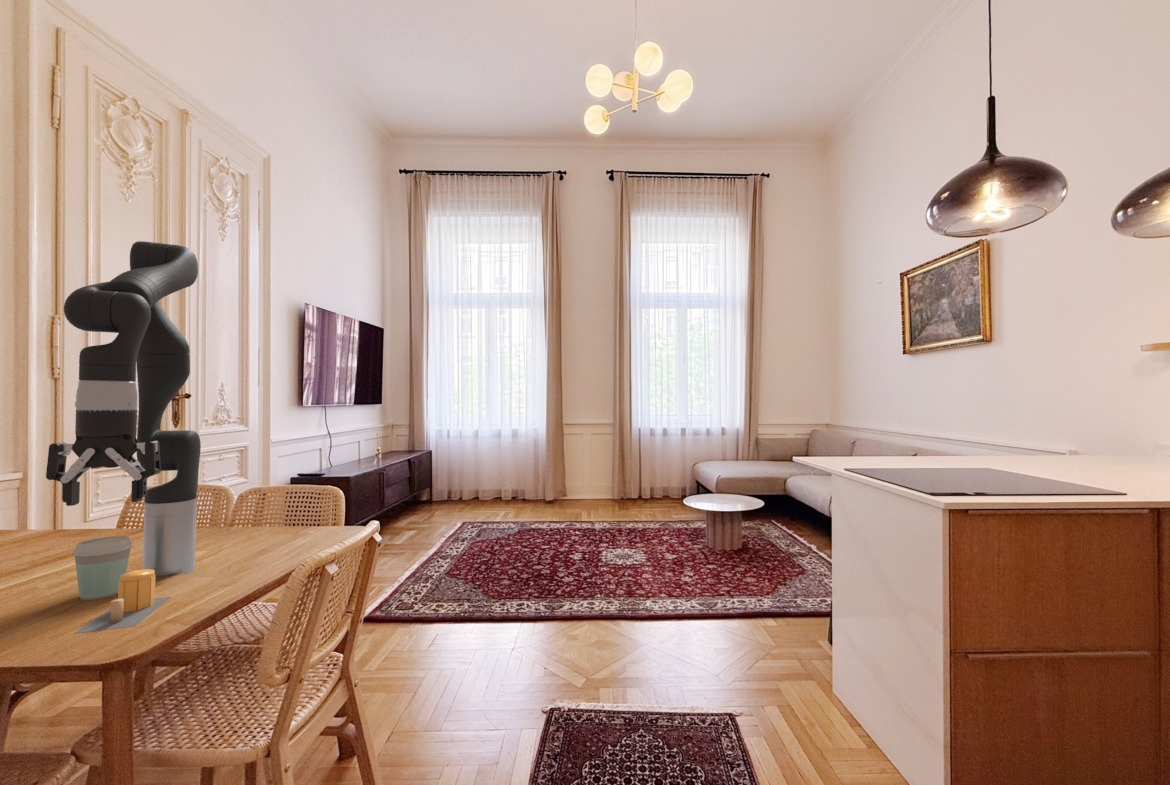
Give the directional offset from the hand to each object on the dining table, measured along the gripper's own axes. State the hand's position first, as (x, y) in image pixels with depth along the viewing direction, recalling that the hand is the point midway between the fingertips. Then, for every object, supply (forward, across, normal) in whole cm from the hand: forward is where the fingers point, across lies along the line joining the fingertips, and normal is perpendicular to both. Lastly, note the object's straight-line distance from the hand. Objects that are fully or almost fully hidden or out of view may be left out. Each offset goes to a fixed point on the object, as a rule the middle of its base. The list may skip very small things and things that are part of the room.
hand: (105, 503), depth 84 cm
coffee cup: (+23, +8, -18) cm, 30 cm away
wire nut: (+21, -2, -8) cm, 22 cm away
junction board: (+22, -2, -4) cm, 23 cm away
